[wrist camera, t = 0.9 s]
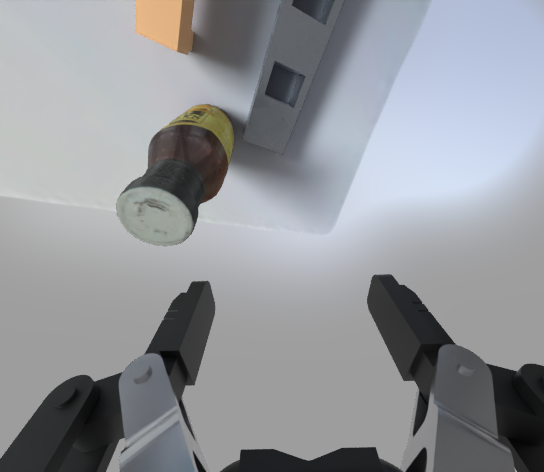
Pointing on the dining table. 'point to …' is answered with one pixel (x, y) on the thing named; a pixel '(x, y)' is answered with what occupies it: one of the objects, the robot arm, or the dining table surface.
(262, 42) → the dining table surface
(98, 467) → the robot arm
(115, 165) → the dining table surface
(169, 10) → the orange block
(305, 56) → the rail
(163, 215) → the sauce bottle
